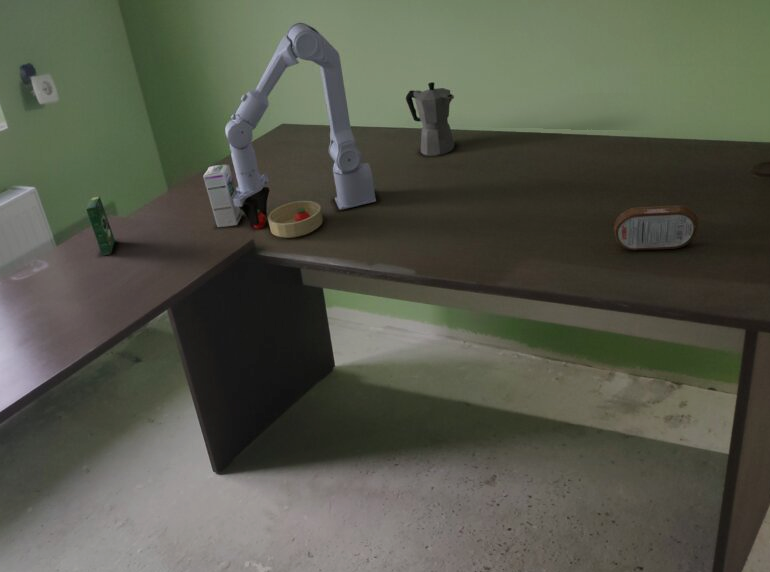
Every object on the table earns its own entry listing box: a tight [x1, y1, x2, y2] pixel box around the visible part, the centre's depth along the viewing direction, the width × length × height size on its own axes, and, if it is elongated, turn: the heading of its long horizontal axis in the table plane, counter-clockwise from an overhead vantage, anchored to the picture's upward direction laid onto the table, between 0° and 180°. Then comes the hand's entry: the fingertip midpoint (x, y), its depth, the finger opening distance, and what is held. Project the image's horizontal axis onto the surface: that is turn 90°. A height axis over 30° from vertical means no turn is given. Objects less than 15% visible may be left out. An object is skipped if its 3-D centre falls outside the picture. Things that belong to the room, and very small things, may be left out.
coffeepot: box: [405, 81, 455, 157], centre depth 232 cm, size 15×9×18 cm, turn 44°
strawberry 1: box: [253, 209, 267, 229], centre depth 219 cm, size 4×4×4 cm
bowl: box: [267, 200, 324, 239], centre depth 214 cm, size 13×13×4 cm
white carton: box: [202, 163, 243, 228], centre depth 223 cm, size 6×6×14 cm
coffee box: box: [85, 195, 116, 256], centre depth 226 cm, size 8×3×13 cm, turn 0°
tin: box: [613, 205, 699, 251], centre depth 169 cm, size 15×3×8 cm, turn 71°
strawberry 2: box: [295, 208, 310, 222], centre depth 213 cm, size 4×4×4 cm
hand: (258, 220), depth 220 cm, fingers closed on strawberry 1, 3 cm apart
